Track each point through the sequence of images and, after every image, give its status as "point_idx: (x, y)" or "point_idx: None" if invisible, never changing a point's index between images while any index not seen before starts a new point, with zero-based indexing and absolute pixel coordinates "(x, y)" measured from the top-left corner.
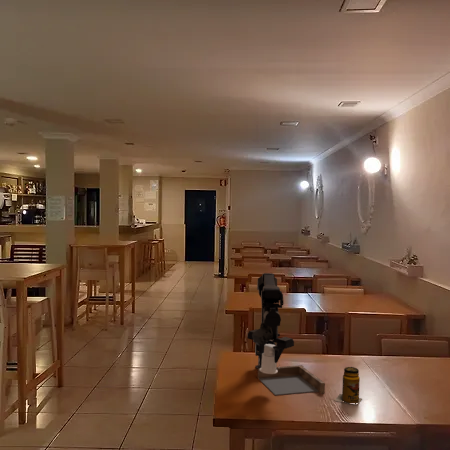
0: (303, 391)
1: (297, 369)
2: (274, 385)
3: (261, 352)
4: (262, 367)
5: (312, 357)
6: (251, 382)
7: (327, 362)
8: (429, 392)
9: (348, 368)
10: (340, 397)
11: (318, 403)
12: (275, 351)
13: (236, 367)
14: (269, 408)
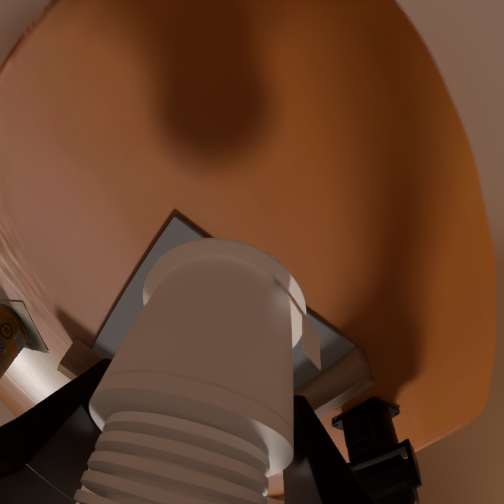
0: (113, 321)
1: None
2: None
3: (315, 456)
4: (250, 285)
5: (272, 487)
6: (372, 296)
7: None
8: (13, 406)
9: None
10: (33, 332)
11: (26, 253)
12: (18, 449)
13: (456, 371)
14: (113, 54)
